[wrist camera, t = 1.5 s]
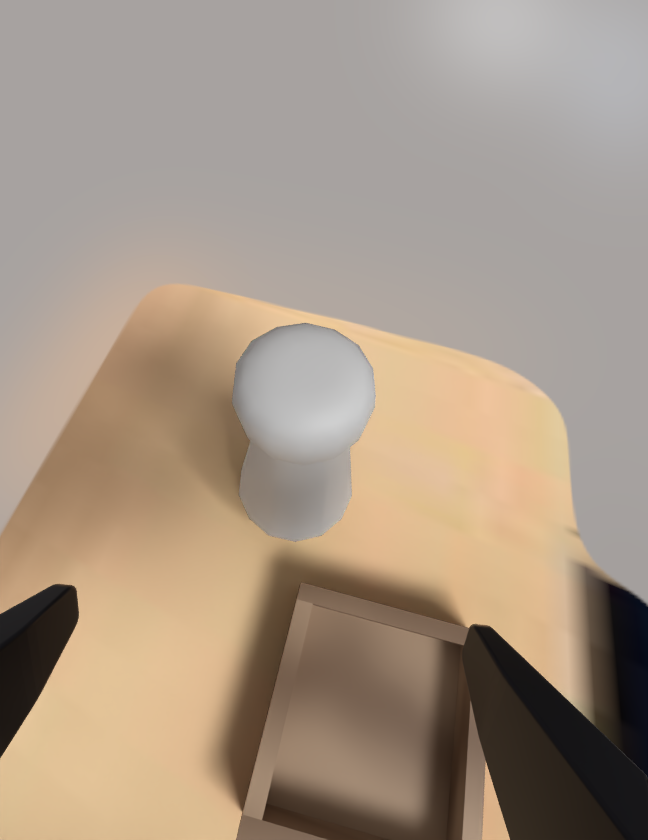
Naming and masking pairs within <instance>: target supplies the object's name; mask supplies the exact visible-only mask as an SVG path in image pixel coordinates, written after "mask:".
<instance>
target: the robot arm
mask: <svg viewBox="0 0 648 840" xmlns="http://www.w3.org/2000/svg"><path fill="white" fill-rule="evenodd" d="M78 618H79V609H78V599H77V591H76V588H75V587H74V586H72V585H64V584H55V585H52V586H50V587H48V588H46V589H45V590H43V591H41V592H39V593H37V594H36V595H34V596H32V597H30V598H28V599H27V600H25V601H23V602H21V603H19V604H18V605H16V606H14V607H12V608H10V609H9V610H7V611H5V612H3V613H1V614H0V758H1V756H2V755H3V753H4V752H5V750H6V748H7V747H8V745H9V744H10V742H11V741H12V739H13V737H14V736H15V734H16V733H17V731H18V730H19V728H20V726H21V725H22V723H23V722H24V720H25V719H26V717H27V715H28V714H29V712H30V711H31V709H32V707H33V706H34V704H35V702H36V701H37V699H38V697H39V696H40V694H41V692H42V690H43V688H44V686H45V685H46V683H47V681H48V679H49V677H50V675H51V673H52V671H53V669H54V667H55V665H56V663H57V661H58V659H59V658H60V656H61V654H62V652H63V650H64V648H65V646H66V644H67V642H68V640H69V638H70V636H71V634H72V632H73V630H74V629H75V627H76V624H77V622H78ZM462 661H463V666H464V671H465V676H466V681H467V685H468V690H469V695H470V699H471V704H472V709H473V714H474V718H475V723H476V727H477V731H478V736H479V739H480V743H481V746H482V750H483V753H484V756H485V760H486V763H487V766H488V769H489V772H490V776H491V779H492V782H493V785H494V789H495V792H496V795H497V798H498V801H499V805H500V808H501V811H502V814H503V818H504V821H505V824H506V827H507V831H508V834H509V837H510V840H648V779H647V777H646V775H645V774H644V773H643V772H642V771H641V770H640V769H639V768H638V767H637V766H636V765H635V764H634V763H633V762H632V761H631V760H630V759H629V758H628V757H627V756H626V755H625V754H624V753H623V752H621V751H620V750H619V749H618V748H617V747H616V746H615V745H614V744H613V743H612V742H611V741H610V740H609V739H608V738H607V737H606V736H605V735H604V734H603V733H602V732H601V731H599V730H598V729H597V728H596V727H595V726H594V725H593V724H592V723H591V722H590V721H589V720H588V719H587V718H586V717H585V716H584V715H583V714H582V713H581V712H580V711H579V710H577V709H576V708H575V707H574V706H573V705H572V704H571V703H570V702H569V701H568V700H567V699H566V698H565V697H564V696H563V695H562V694H561V693H560V692H559V691H558V690H557V689H555V688H554V687H553V686H552V685H551V684H550V683H549V682H548V681H547V680H546V679H545V678H544V677H543V676H542V675H541V674H540V673H539V672H538V671H537V670H536V669H535V668H533V667H532V666H531V665H530V664H529V663H528V662H527V661H526V660H525V659H524V658H523V657H522V656H521V655H520V654H519V653H518V652H517V651H516V650H515V649H514V648H513V647H511V646H510V645H509V644H508V643H507V642H506V641H505V640H504V639H503V638H502V637H501V636H500V635H499V634H498V633H497V632H496V631H495V630H494V629H493V628H491V627H490V626H487V625H478V624H473V625H471V626H470V628H469V630H468V634H467V637H466V640H465V643H464V647H463V650H462Z"/></svg>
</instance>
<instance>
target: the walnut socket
mask: <svg viewBox="0 0 648 840" xmlns="http://www.w3.org/2000/svg"><path fill="white" fill-rule="evenodd" d="M468 630H469V628H467V627H463V626H460V625H456V624H452V623H449V622H445V621H441V620H438V619H434V618H430V617H427V616H423V615H419V614H416V613H412V612H408V611H405V610H401V609H398V608H394V607H390V606H387V605H383V604H379V603H376V602H372V601H368V600H365V599H361V598H357V597H354V596H350V595H346V594H343V593H339V592H335V591H332V590H328V589H325V588H321V587H317V586H314V585H310V584H306V583H303V582H301V584H300V587H299V591H298V595H297V599H296V603H295V607H294V610H293V614H292V618H291V622H290V626H289V630H288V634H287V638H286V642H285V646H284V650H283V654H282V658H281V662H280V666H279V670H278V674H277V678H276V682H275V685H274V689H273V693H272V697H271V701H270V705H269V709H268V713H267V717H266V721H265V725H264V729H263V733H262V737H261V741H260V745H259V749H258V753H257V756H256V760H255V764H254V768H253V772H252V776H251V780H250V784H249V788H248V792H247V796H246V800H245V804H244V808H243V812H242V816H241V821H240V825H239V829H238V834H237V838H236V840H482V828H483V805H484V781H485V756H484V753H483V750H482V746H481V743H480V739H479V736H478V731H477V727H476V723H475V718H474V714H473V709H472V704H471V699H470V695H469V690H468V685H467V681H466V676H465V671H464V666H463V661H462V650H463V647H464V643H465V640H466V637H467V634H468Z"/></svg>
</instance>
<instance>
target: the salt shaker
mask: <svg viewBox="0 0 648 840" xmlns="http://www.w3.org/2000/svg"><path fill="white" fill-rule="evenodd" d="M375 397H376V395H375V384H374V374H373V368H372V366H371V365H370V363H369V361H368V360H367V358H366V356H365V355H364V353H363V352H362V350H361V348H360V347H359V345H357V344H356V343H354V342H353V341H351V340H350V339H348V338H347V337H345V336H344V335H342V334H340V333H339V332H337V331H336V330H334V329H330V328H325V327H321V326H317V325H313V324H308V323H302V324H295V325H288V326H281V327H276V328H274V329H273V330H271V331H269V332H267V333H265V334H263V335H262V336H260V337H258V338H256V339H254V340H253V341H251V343H250V344H249V346H248V347H247V349H246V350H245V352H244V353H243V354H242V356H241V357H240V359H239V360H238V362H237V363H236V370H235V379H234V387H233V397H232V404H233V407H234V409H235V412H236V414H237V416H238V418H239V420H240V423H241V425H242V427H243V429H244V431H245V433H246V436H247V438H248V439H249V440H250V444H249V447H248V450H247V453H246V457H245V460H244V463H243V466H242V469H241V478H240V487H239V497H240V499H241V501H242V503H243V506H244V508H245V510H246V512H247V515H248V517H249V519H250V520H252V521H253V522H254V523H255V524H256V525H257V526H258V527H260V528H261V529H262V530H263V531H264V532H265V533H266V534H268V535H269V536H272V537H277V538H281V539H286V540H290V541H295V542H296V541H300V540H305V539H309V538H314V537H318V536H321V535H323V534H324V533H325V532H326V531H327V530H329V529H330V528H331V527H332V526H333V525H335V524H336V523H337V522H338V521H339V520H341V519H342V517H343V514H344V512H345V510H346V508H347V505H348V503H349V501H350V499H351V496H352V487H351V461H350V447H351V446H352V445H353V444H355V443H356V442H357V441H358V440H359V438H360V436H361V434H362V433H363V431H364V428H365V426H366V424H367V422H368V420H369V418H370V416H371V414H372V412H373V410H374V408H375Z"/></svg>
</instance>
